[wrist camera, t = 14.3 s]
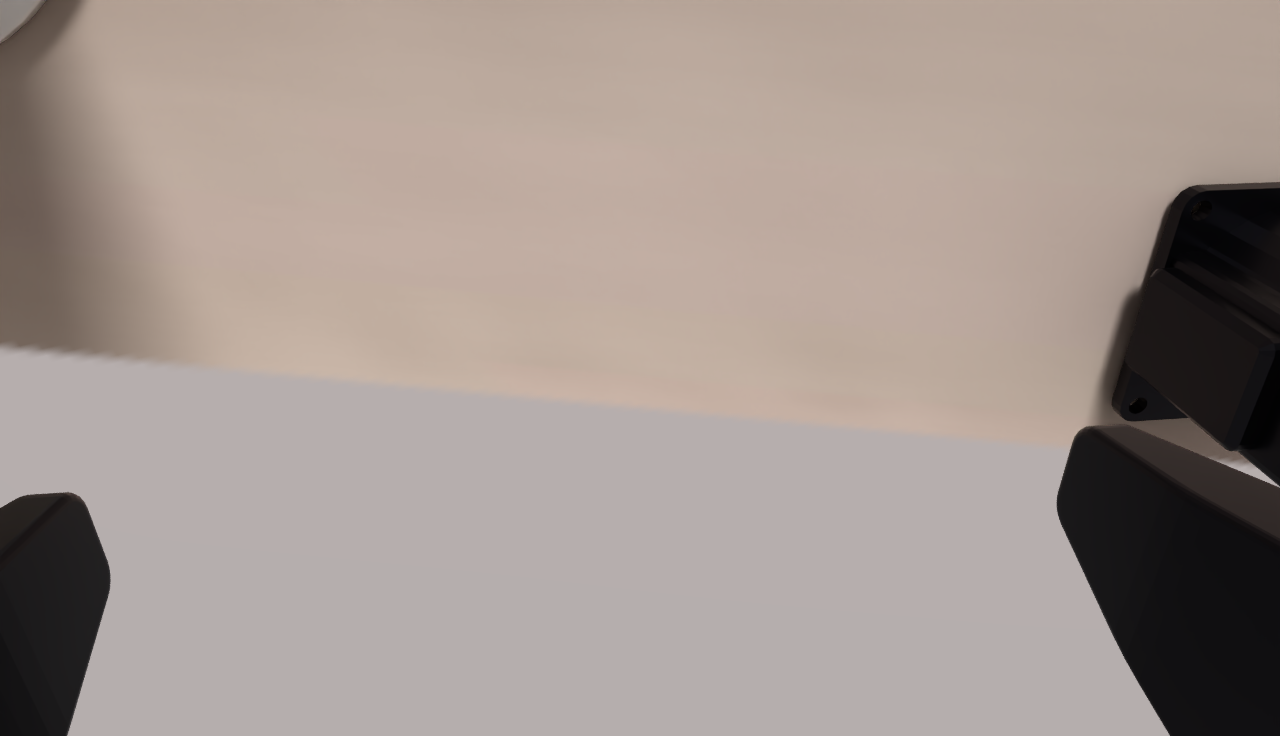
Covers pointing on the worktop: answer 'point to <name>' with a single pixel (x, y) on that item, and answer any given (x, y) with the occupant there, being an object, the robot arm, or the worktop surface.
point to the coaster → (16, 15)
